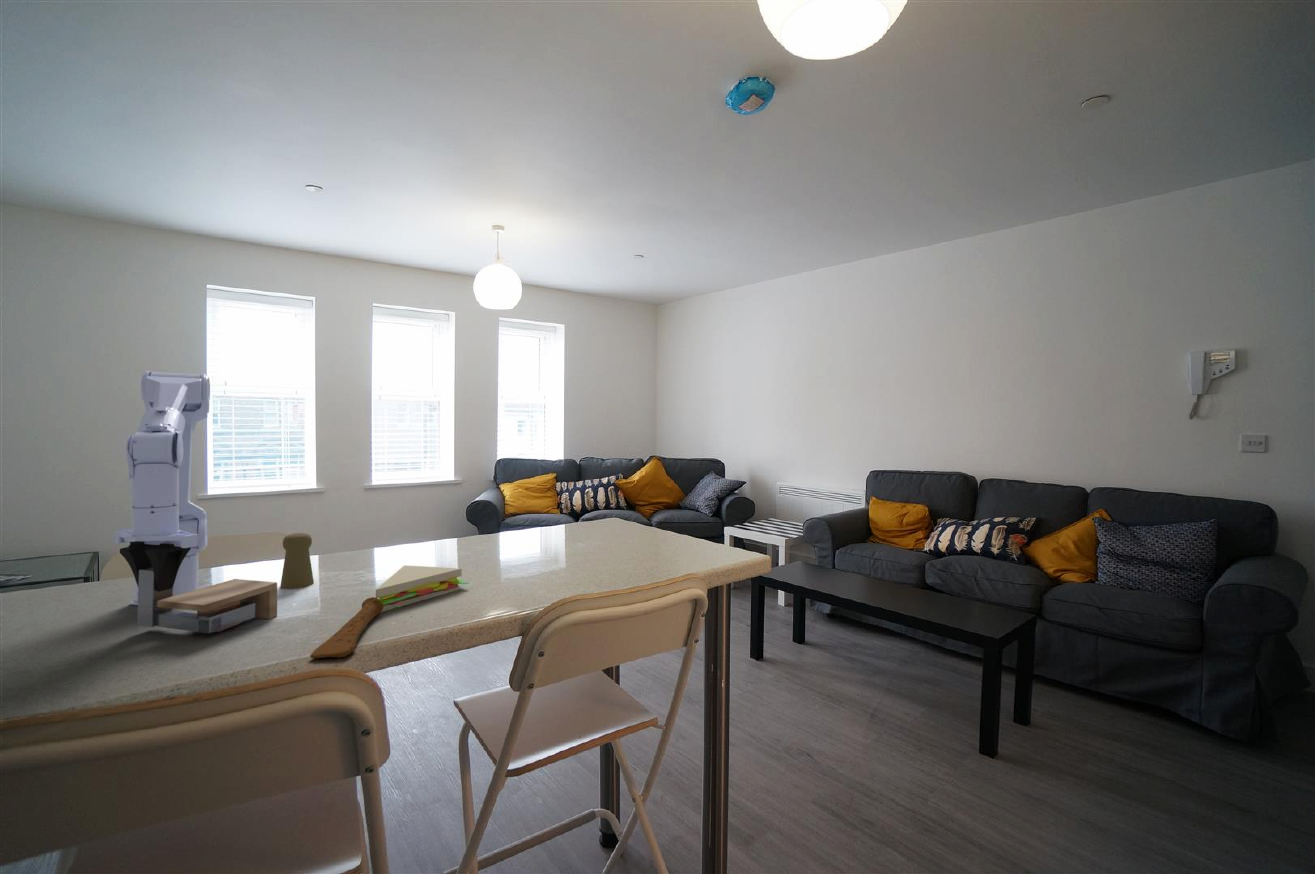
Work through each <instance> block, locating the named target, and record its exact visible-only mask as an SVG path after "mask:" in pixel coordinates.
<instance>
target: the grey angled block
mask: <svg viewBox="0 0 1315 874" xmlns="http://www.w3.org/2000/svg"><path fill="white" fill-rule="evenodd" d="M172 596H173V588H171V589H168V590H164V591H157V590H156V587H155V583H154V573H153V568H152V567H149V568H144V569H140V570H139V586H138V605H137V621H136V622H137V624H136V625H137V626H140V627H148V628H155V627H157V628H165V629H172V630H173V629H174V630H179V631H180V630H181V631H187V632H195V633H200V634H201V633H202V634H210V633H211V634H212V633H216V632H215V631H217V630H220V629H223V628H226V627H229V626H232V625H235V624H237V623H240V624H241V623H242V622H246V621H249V620H252V619H253V618H255V603H252V602H243V603H240V604H237V605H233V606H230V607H227V608H224V609H221V610H218V611H214V612H211V613H208V614H205V615H203V614H197V613H196V612H195V613H194V612H186V611H178V610H173V608H163V607H157V601H158V600H161V599H165V598H169V597H172ZM235 626H236V625H235ZM232 627H233V626H232Z"/></svg>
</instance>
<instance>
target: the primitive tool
mask: <svg viewBox="0 0 1315 874" xmlns="http://www.w3.org/2000/svg"><path fill="white" fill-rule="evenodd" d="M382 610H383V603H382V602H381V601H380V600H379V598H376V596H375V597H373V596H371V597H368V598H366V599H364V601H363V602H362V604H361V609H360V610H359V611H358V612H357V613H356V614H355V615H353V617H351V618H350V619H349V620H348V621H347V622H346V623H345V624H344V625H342V626H341V627H340V629H339V630H338V631H336V632H335V633H334V634H333V635H331V637H330V638H328V639H327V640H325V641H324V642H323V643H322V644H320V645H319V646H318V647H316V648H315V649H314V650H313V651H312V653H311V654H310V656H309V657H310V659H321V658H322V659H323V658H337V659H338V658H345V657H347V656H349V655H350V654H351V653H353V652H354V650H355V649H356V648H357V642H358V640H359V638H360V636H361V634H362V633H363V632H364V631H365V629H366V628H367V626H368V624H369V623H370V622H371V621H372V620H373V618H375V617H378V616H379V615H380V614H381V613H383V612H382Z"/></svg>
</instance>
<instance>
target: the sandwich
mask: <svg viewBox="0 0 1315 874" xmlns="http://www.w3.org/2000/svg"><path fill="white" fill-rule="evenodd" d="M462 572H463V571H462V568H460V567H459V568H457V567H440V566H439V567H438V566H437V567H435V566H423V565H422V566H421V565H420V566H419V565H403V566H402V567H400V568H399V569H398V570H397V571H396V572H395V573H394V574H392V575H391V576H390V577H389V578H387V580H385V581H384V582H382V584H381V585H379V586H378V587H377V588H376V589H375V598H378V599H379V600H380V601H381V602H382V603H383V610H382V611H384V612H387V611H386V610H388V611H391V610H394V609H396V608H395V607H398V608H400V607H404V605H405V606H408V605H411V604H415V603H417V602H421V600H422V601H424V600H428V599H432V598H435V597H438V596H442V595H445V594H448V593H452V592H456V591H459V590H460V587H461V586H460V585H469V582H467V581H464V580H462V579H459V578H460V577H462ZM393 608H394V609H393ZM390 609H391V610H390Z"/></svg>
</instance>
